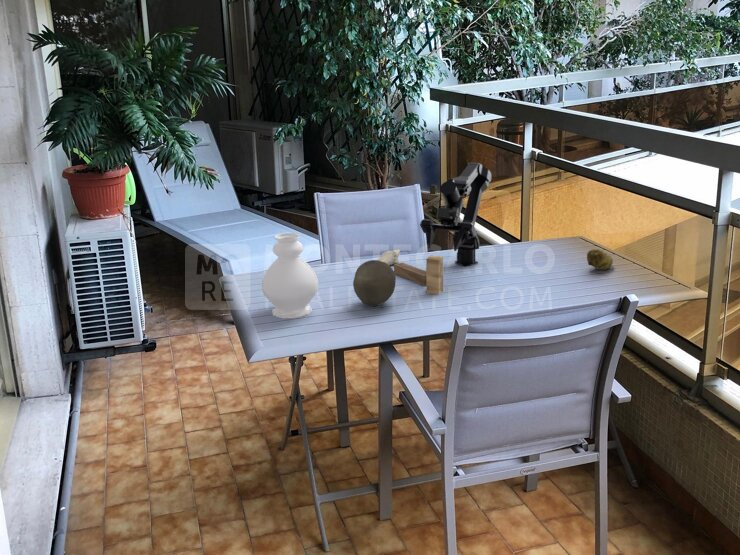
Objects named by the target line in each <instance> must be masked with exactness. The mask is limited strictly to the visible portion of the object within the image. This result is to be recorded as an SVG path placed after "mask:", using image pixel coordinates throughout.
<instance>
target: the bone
mask: <svg viewBox="0 0 740 555" xmlns="http://www.w3.org/2000/svg"><path fill="white" fill-rule="evenodd" d="M400 252H401V250H400V249H395V250H387V251H385V252H382V253H381V256H380V257H379V258H378V259H377V260H378V261H382V262H385V263H387V264H388V265H390V266H394V265H393V264H398V263H400V262H399V256H400Z"/></svg>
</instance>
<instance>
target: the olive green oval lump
mask: <svg viewBox="0 0 740 555" xmlns="http://www.w3.org/2000/svg"><path fill="white" fill-rule="evenodd" d="M613 259H614V258H613V257H612V255H610V254H609V253H607V252H605V251H604V250H602V249H599V248H592V249H590V250H588V252H587V253H586V260H587V265H589V266H592V267H593V268H597V269H599V270H608V269H610V268H612V266H613V264H614V263H613V261H614V260H613ZM607 268H608V269H607Z"/></svg>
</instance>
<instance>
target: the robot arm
mask: <svg viewBox="0 0 740 555" xmlns="http://www.w3.org/2000/svg"><path fill="white" fill-rule="evenodd" d="M491 181H492V172H491V170H490V169H489V168H487V167H485V166H483V164H481V163H480V162H468V163H467V164H466V168H464V170H463V171H462V173H461V174H460V175H459V176H456V177H453V178H447V180H446V181H444V182H443V183H442V184H441V185H440V186H439V192H440V194H441V196H442V199H443V201H444V202H445V206H444V207H438V208H437V213H436V218H438V222H439V223H435V222H434V220H433V219H428V218H427V219H426V218H423V219H421V221H420V224H419V226H420V229H421V230H422V232H423V233H424V234H425V235H426V236H427V244H428V245H427V246H428V249H430V250H431V249H432V246H433V243H434V239H435V235H436V234H435V232H436V230H439V231H448V232H453V236H452V242H453V251H454V252H456V251H457V252H456V260H455V261H454V263H455V264H458V265H461V266H462V267H463V266H464V267H469V266H472V265H477V264H478V263H479V261H476V250H479V249H480V239H479V237H478V232H477V230H476V227H475V224H476V220H477V215H478V212H479V209H480V203H481V199H482V195H483V192H485V191H486V190H487V189H488V188H489V185H490V182H491ZM464 197H465V198H466V197H468V198H467V201H466V206H465V211H464V214H463V218H462V221H461V222H459V221H460V219H461V217H460V215H461V212H462V208H463V207H464V199H463V198H464Z"/></svg>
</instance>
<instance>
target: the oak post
mask: <svg viewBox="0 0 740 555" xmlns="http://www.w3.org/2000/svg"><path fill="white" fill-rule="evenodd" d="M425 261H426V265H425V266H426V267H425V268H426V270H425V271H426V285H425V286H426V289H425V290H426V293H427V294H433V295H440V294H441V293H442V292H443V291H444V256H441V255H434V254H433V255H429V256H428V257H426V258H425Z"/></svg>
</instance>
